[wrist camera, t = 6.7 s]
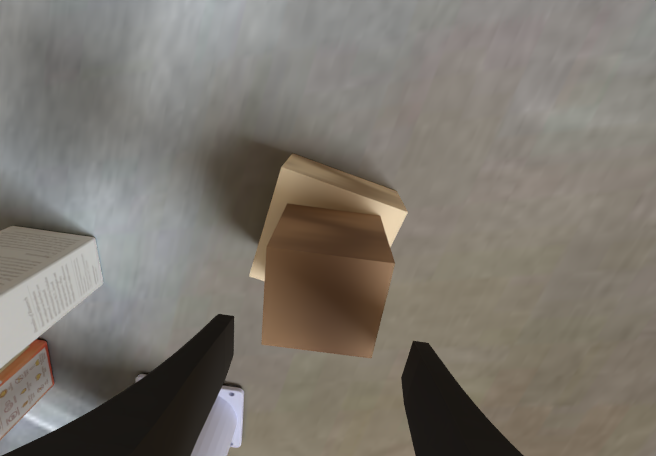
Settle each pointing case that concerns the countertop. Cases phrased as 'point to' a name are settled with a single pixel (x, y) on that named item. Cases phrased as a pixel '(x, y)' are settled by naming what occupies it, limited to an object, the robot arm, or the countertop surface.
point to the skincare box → (41, 282)
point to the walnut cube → (326, 281)
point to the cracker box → (23, 383)
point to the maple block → (327, 199)
